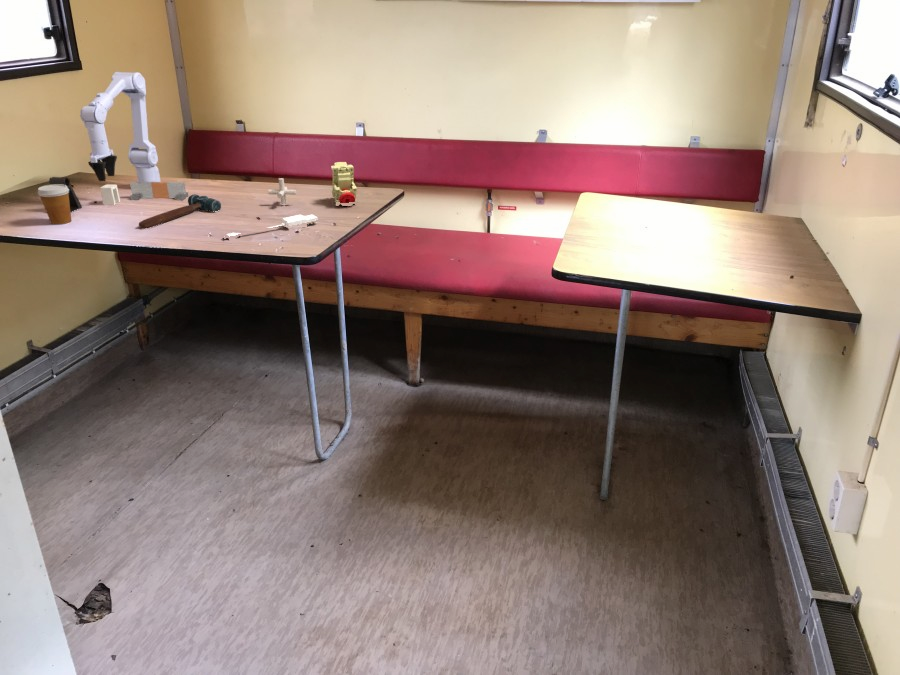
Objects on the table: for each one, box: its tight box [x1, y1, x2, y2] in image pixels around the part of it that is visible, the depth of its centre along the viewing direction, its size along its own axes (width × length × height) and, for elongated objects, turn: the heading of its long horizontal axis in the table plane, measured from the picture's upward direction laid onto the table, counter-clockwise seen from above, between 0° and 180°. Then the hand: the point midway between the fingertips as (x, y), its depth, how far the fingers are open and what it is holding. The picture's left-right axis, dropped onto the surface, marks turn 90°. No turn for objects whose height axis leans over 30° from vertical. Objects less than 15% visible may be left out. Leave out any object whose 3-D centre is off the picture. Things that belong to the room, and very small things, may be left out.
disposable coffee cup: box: [37, 184, 72, 225], centre depth 233 cm, size 10×10×12 cm
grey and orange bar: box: [129, 181, 189, 201], centre depth 263 cm, size 6×20×6 cm, turn 90°
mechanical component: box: [330, 161, 358, 203], centre depth 255 cm, size 8×17×20 cm, turn 18°
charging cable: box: [225, 214, 319, 237], centre depth 227 cm, size 5×32×3 cm, turn 125°
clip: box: [99, 184, 121, 206], centre depth 255 cm, size 5×4×6 cm
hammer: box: [138, 193, 222, 230], centre depth 240 cm, size 14×5×30 cm
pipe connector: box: [267, 177, 297, 205], centre depth 253 cm, size 10×10×10 cm
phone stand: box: [48, 176, 83, 213], centre depth 245 cm, size 9×6×12 cm, turn 170°
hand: (106, 178), depth 253 cm, fingers open, 7 cm apart
